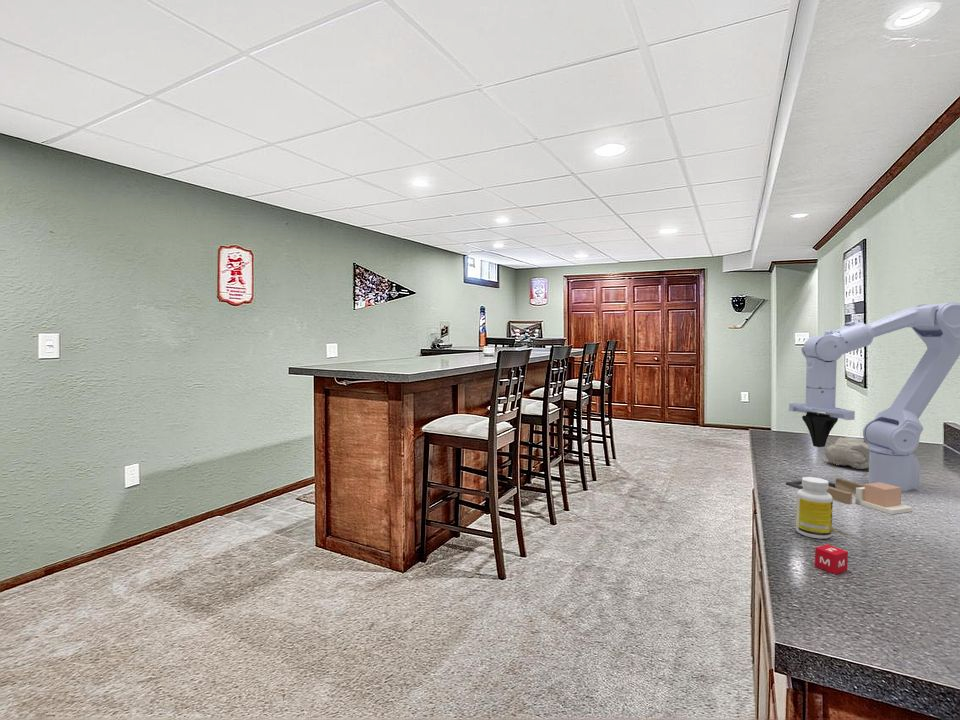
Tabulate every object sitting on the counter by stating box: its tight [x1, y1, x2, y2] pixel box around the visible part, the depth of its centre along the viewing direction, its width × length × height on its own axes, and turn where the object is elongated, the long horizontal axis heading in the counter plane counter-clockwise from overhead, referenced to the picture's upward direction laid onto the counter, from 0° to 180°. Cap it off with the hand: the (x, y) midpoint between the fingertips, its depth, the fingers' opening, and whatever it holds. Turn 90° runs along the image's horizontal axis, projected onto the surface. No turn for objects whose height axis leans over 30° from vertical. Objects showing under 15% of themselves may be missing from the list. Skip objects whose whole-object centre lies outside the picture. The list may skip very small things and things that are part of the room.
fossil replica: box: [824, 437, 870, 470], centre depth 137 cm, size 12×8×10 cm
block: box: [864, 482, 902, 507], centre depth 102 cm, size 4×4×4 cm
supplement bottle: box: [795, 476, 834, 540], centre depth 90 cm, size 5×5×10 cm
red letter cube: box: [814, 544, 849, 575], centre depth 77 cm, size 3×3×3 cm
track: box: [827, 477, 865, 505], centre depth 106 cm, size 10×16×3 cm, turn 18°
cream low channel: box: [855, 487, 913, 515], centre depth 102 cm, size 6×7×3 cm
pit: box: [785, 480, 836, 490], centre depth 117 cm, size 10×5×1 cm, turn 108°
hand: (818, 446), depth 117 cm, fingers closed
